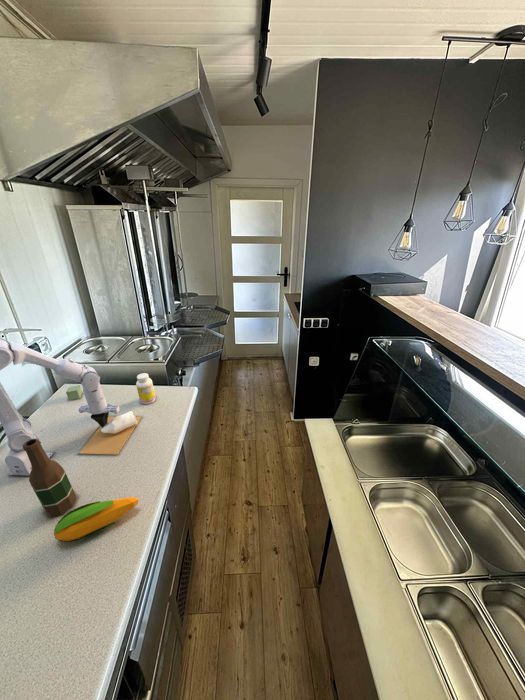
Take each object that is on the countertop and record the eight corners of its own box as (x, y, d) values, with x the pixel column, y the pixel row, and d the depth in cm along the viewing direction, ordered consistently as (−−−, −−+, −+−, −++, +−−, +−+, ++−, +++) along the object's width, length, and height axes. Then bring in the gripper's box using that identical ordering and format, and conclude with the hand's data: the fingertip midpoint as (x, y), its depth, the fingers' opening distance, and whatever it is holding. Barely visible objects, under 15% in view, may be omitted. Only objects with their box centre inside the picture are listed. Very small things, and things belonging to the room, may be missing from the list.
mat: (117, 454, 100) (117, 454, 100) (78, 454, 100) (78, 453, 100) (141, 417, 118) (141, 416, 118) (108, 417, 118) (108, 416, 118)
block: (80, 398, 131) (77, 390, 129) (68, 400, 129) (65, 392, 127) (82, 393, 134) (79, 385, 132) (71, 394, 133) (68, 386, 131)
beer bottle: (61, 519, 79) (29, 456, 68) (38, 514, 80) (3, 451, 70) (83, 495, 86) (56, 433, 75) (61, 490, 87) (31, 430, 77)
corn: (50, 511, 73) (133, 478, 81) (60, 527, 77) (139, 495, 85) (47, 538, 67) (137, 500, 76) (58, 555, 71) (142, 517, 79)
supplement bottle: (139, 398, 130) (133, 373, 124) (155, 394, 133) (149, 370, 127) (141, 406, 125) (134, 381, 119) (156, 402, 127) (151, 377, 121)
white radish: (100, 433, 109) (96, 422, 107) (132, 419, 116) (129, 408, 114) (105, 441, 105) (101, 430, 103) (138, 426, 112) (135, 415, 110)
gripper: (120, 391, 107) (128, 420, 113) (82, 391, 108) (92, 419, 114) (110, 403, 101) (119, 432, 107) (70, 402, 102) (81, 431, 108)
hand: (105, 426), depth 110 cm, fingers closed
